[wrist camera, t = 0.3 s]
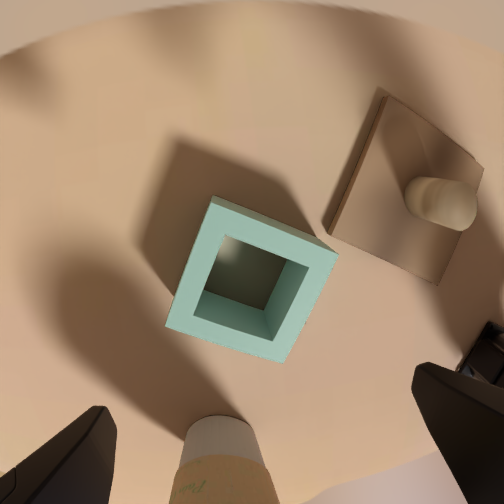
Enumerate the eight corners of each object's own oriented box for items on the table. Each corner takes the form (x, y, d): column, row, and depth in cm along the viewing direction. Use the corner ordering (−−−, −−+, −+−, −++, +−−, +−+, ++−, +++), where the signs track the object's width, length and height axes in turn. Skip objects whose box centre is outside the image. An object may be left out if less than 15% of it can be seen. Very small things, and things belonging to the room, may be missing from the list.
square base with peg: (477, 167, 20) (524, 173, 15) (431, 282, 22) (472, 308, 17) (383, 97, 18) (427, 82, 13) (327, 233, 20) (359, 255, 15)
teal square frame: (317, 237, 20) (339, 254, 16) (272, 330, 22) (282, 363, 18) (212, 194, 19) (211, 202, 15) (173, 297, 20) (164, 326, 16)
